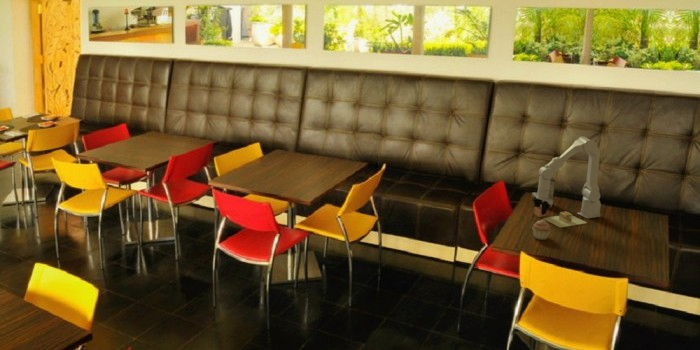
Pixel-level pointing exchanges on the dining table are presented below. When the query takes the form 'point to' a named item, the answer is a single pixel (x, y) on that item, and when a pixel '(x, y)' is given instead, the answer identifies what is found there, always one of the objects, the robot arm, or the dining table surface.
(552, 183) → the coffee box
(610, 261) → the dining table surface
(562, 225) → the pale green rectangular panel
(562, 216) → the birch block
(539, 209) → the terracotta block
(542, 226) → the cupcake
